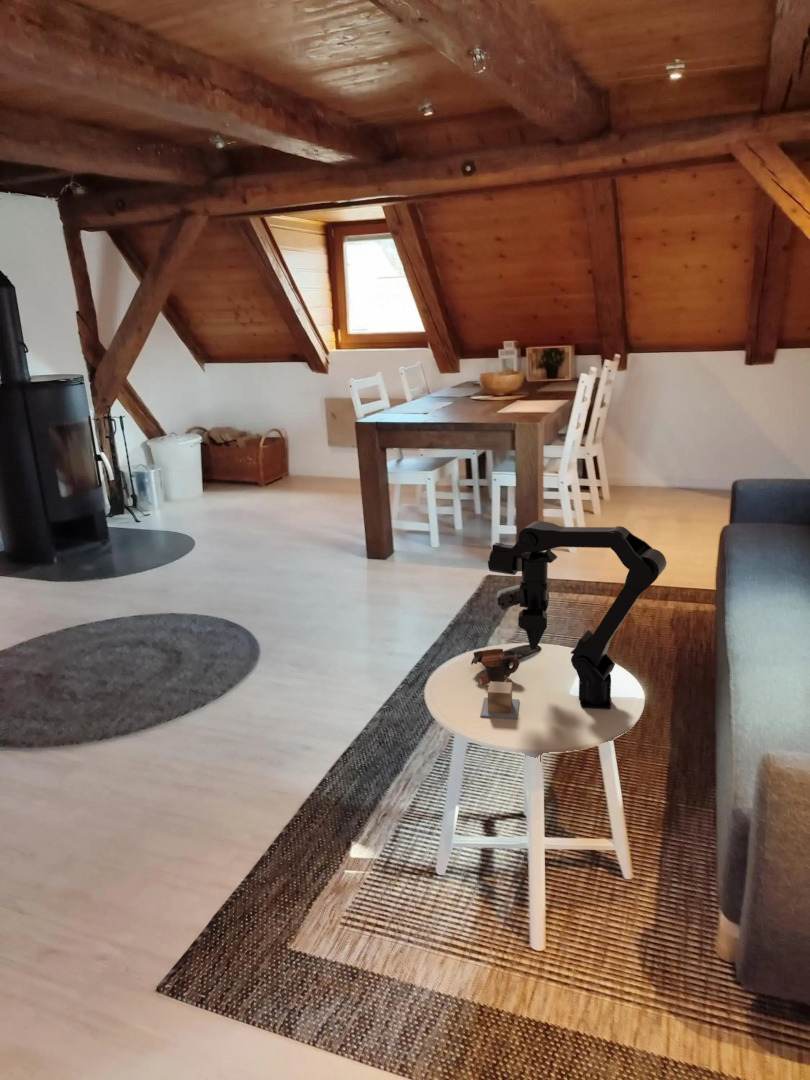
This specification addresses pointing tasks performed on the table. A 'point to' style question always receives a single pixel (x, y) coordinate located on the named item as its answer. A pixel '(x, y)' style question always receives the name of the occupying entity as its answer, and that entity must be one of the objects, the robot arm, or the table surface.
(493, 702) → the walnut block
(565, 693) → the table surface
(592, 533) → the robot arm
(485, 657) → the pottery mug
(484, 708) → the felt coaster
